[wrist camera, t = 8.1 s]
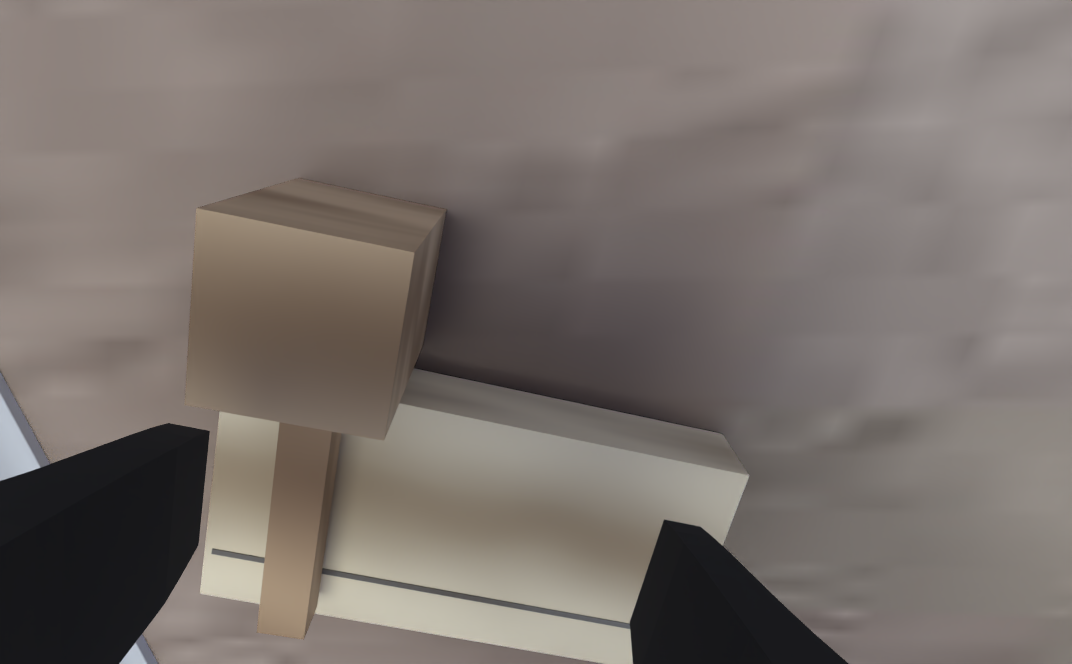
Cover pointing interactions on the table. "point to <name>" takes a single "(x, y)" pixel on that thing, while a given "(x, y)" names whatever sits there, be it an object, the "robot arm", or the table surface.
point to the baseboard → (12, 449)
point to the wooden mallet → (308, 346)
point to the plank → (483, 515)
